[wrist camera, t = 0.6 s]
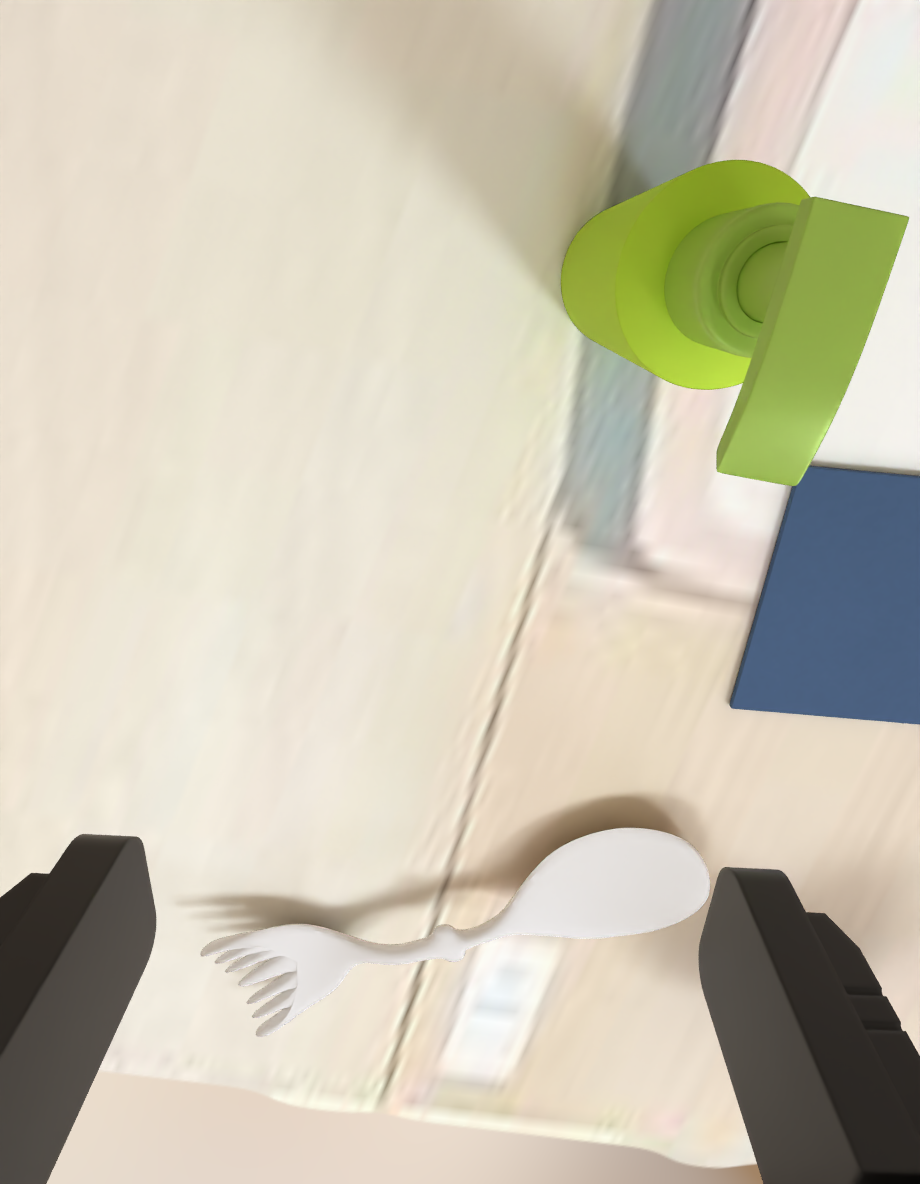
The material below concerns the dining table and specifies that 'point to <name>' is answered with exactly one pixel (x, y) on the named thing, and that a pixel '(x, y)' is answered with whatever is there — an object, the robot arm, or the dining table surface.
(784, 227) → the soap dispenser
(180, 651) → the dining table surface
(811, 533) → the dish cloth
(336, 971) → the spoon
